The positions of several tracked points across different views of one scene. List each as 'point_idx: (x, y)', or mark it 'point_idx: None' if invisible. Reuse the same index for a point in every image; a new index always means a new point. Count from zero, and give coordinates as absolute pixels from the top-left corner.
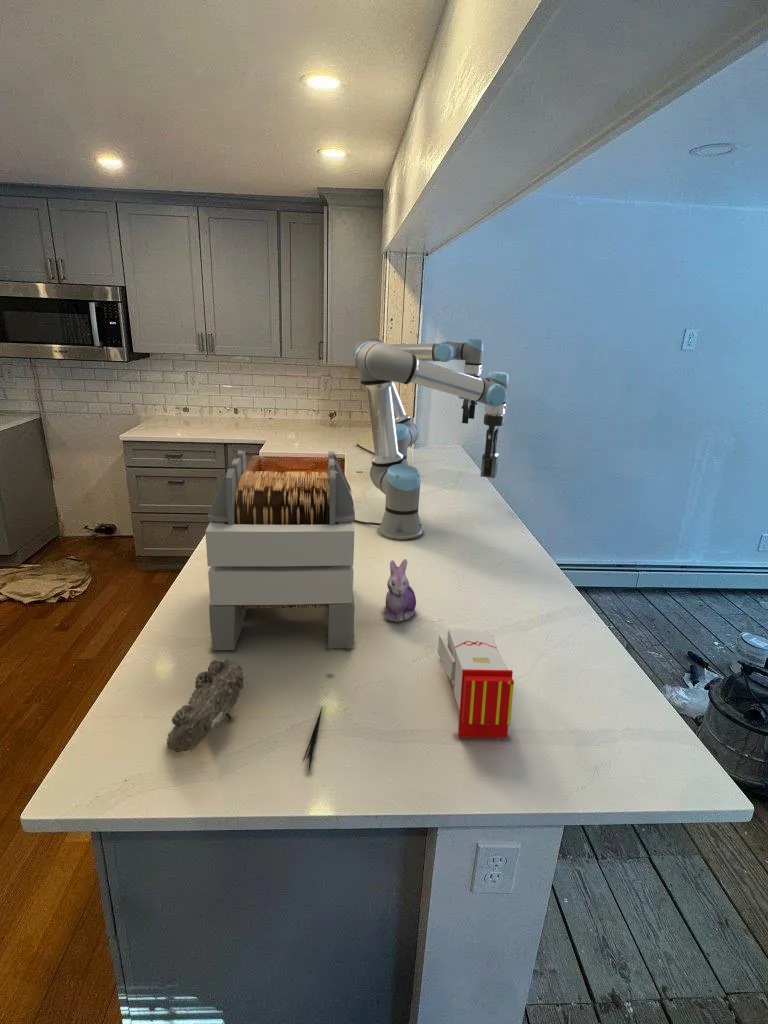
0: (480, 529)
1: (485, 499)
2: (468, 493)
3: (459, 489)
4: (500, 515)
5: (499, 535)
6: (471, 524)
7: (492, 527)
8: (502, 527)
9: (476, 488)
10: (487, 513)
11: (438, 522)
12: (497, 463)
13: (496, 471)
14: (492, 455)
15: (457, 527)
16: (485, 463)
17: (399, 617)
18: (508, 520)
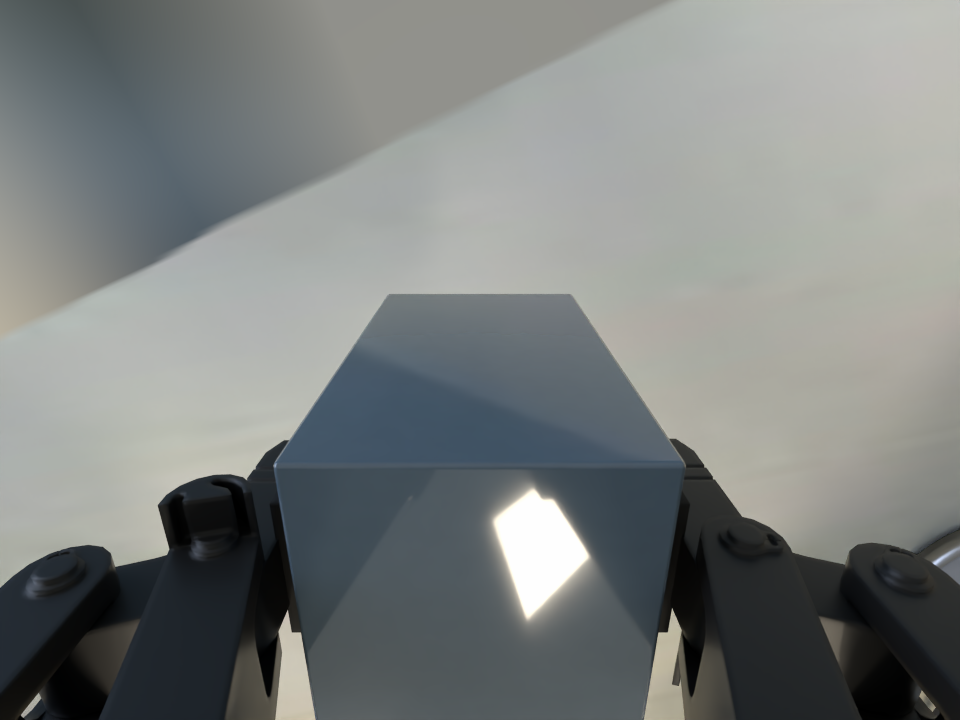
0: (854, 237)
1: (211, 321)
2: (160, 447)
3: (118, 511)
4: (513, 151)
5: (950, 84)
6: (773, 309)
7: (794, 164)
8: (775, 90)
9: (10, 423)
10: (512, 252)
11: (791, 484)
12: (400, 357)
13: (435, 311)
14: (589, 580)
15: (850, 375)
16: None
17: None
18: (603, 69)
